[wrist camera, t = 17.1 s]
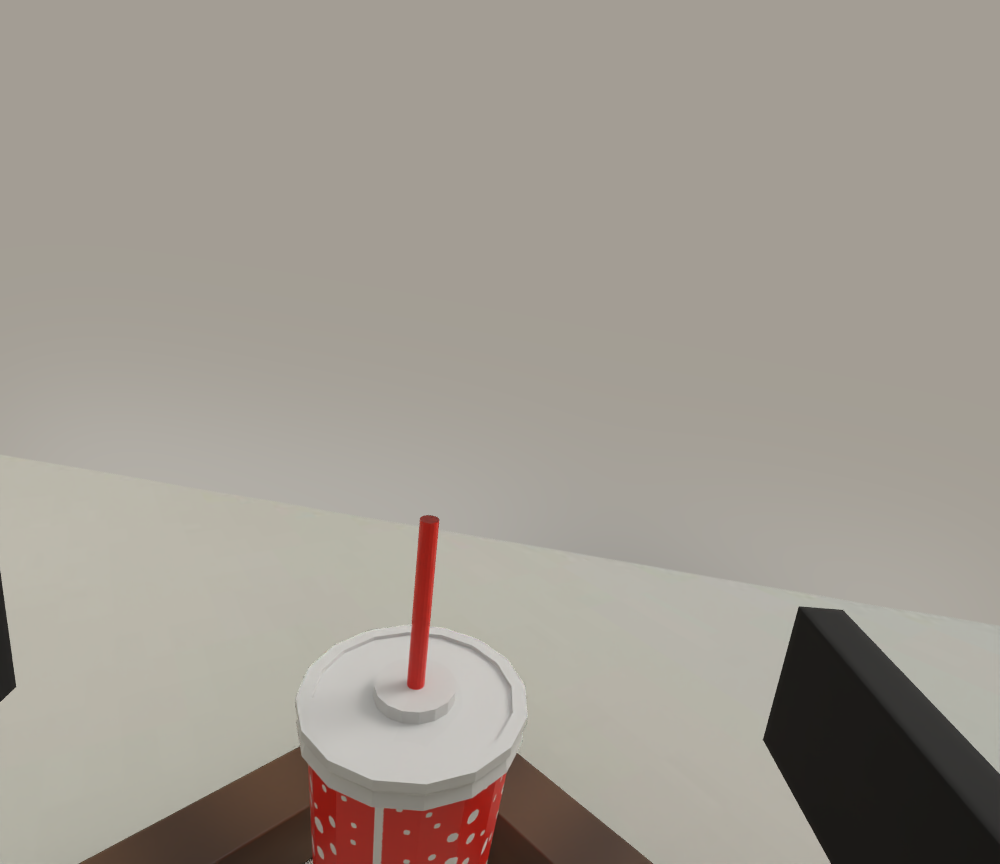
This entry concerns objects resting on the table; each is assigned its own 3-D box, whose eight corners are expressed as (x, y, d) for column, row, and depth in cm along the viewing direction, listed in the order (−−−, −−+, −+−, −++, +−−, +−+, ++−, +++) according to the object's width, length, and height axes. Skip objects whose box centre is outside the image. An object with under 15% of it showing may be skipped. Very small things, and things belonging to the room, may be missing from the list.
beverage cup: (508, 869, 22) (564, 495, 18) (468, 1088, 16) (536, 609, 12) (342, 826, 23) (360, 460, 19) (247, 1018, 17) (244, 551, 13)
